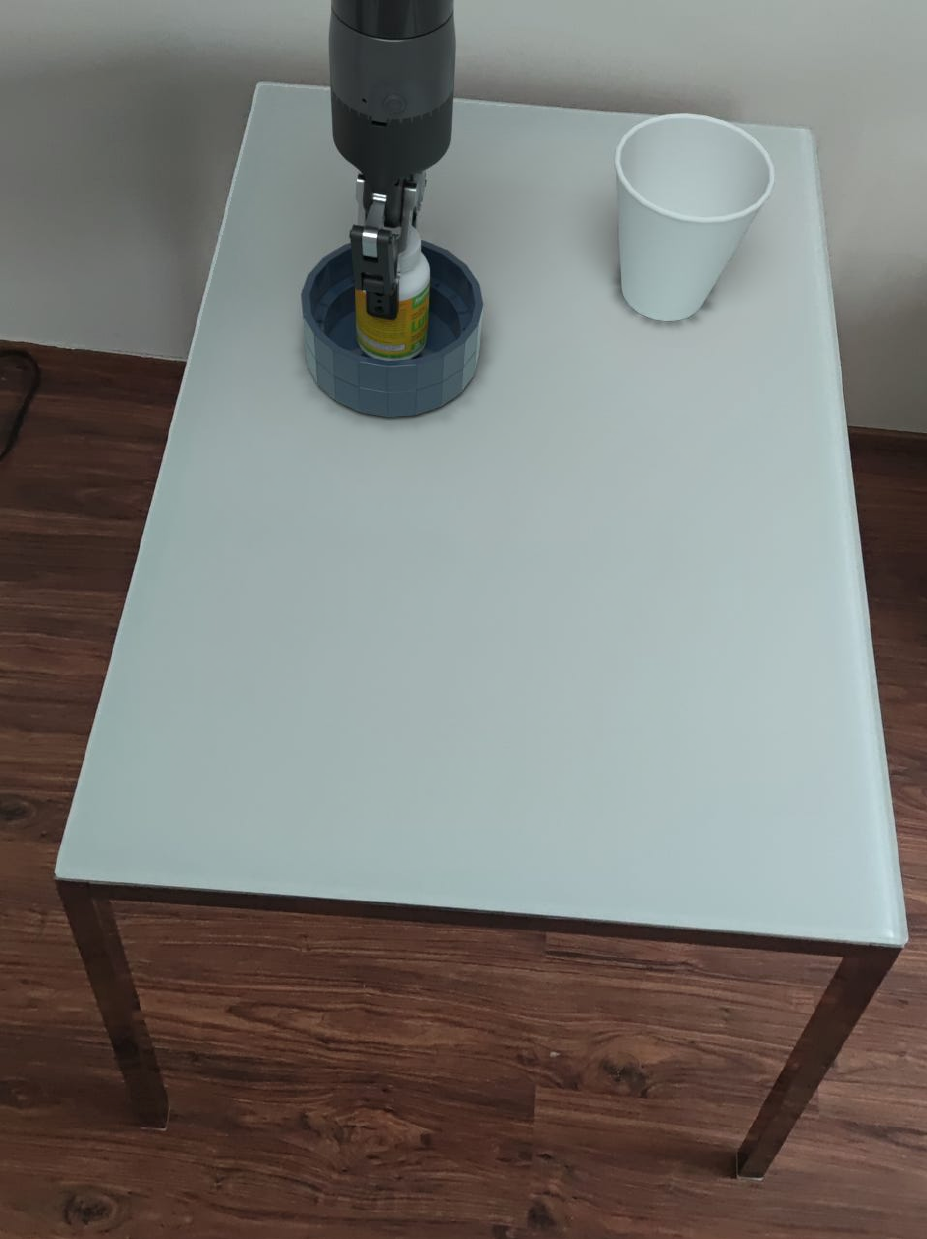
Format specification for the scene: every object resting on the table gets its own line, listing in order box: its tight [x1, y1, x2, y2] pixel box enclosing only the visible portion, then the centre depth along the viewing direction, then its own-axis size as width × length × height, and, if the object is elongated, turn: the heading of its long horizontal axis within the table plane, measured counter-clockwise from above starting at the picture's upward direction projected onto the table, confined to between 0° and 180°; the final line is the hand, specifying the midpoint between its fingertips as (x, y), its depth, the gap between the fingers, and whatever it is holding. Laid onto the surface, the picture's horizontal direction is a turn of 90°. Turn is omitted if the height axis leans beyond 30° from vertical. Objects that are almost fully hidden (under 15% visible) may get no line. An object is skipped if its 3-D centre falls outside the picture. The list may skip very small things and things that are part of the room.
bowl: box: [300, 239, 484, 418], centre depth 92 cm, size 13×13×6 cm
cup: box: [613, 112, 776, 322], centre depth 94 cm, size 12×12×12 cm
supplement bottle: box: [355, 226, 430, 361], centre depth 88 cm, size 5×5×10 cm
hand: (391, 284), depth 88 cm, fingers closed on supplement bottle, 5 cm apart
